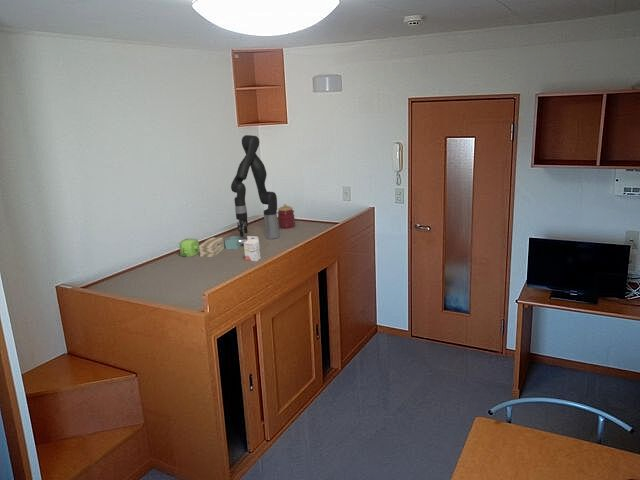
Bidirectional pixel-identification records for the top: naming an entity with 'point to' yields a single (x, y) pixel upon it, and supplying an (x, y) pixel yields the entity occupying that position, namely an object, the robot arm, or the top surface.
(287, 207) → the canister
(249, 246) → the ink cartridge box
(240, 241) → the axle
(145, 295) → the top surface
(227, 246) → the v block
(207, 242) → the beam
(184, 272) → the top surface
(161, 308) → the top surface
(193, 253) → the green cube pot
